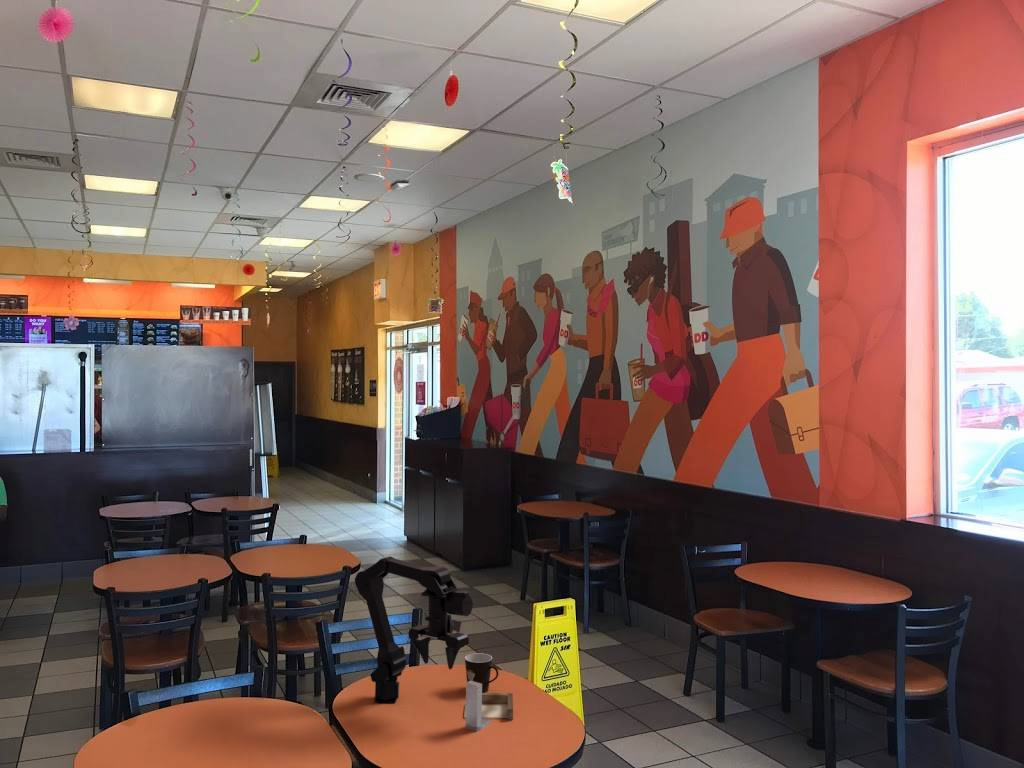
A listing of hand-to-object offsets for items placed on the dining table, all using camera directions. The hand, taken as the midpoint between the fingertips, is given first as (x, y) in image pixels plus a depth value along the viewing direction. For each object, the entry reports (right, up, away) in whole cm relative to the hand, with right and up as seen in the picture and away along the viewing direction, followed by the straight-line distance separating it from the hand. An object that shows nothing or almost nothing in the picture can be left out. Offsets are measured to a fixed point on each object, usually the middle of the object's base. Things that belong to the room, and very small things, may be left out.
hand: (438, 666), depth 232 cm
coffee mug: (+11, -14, +16) cm, 24 cm away
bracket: (+12, -13, -9) cm, 20 cm away
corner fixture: (+15, -13, +1) cm, 20 cm away
